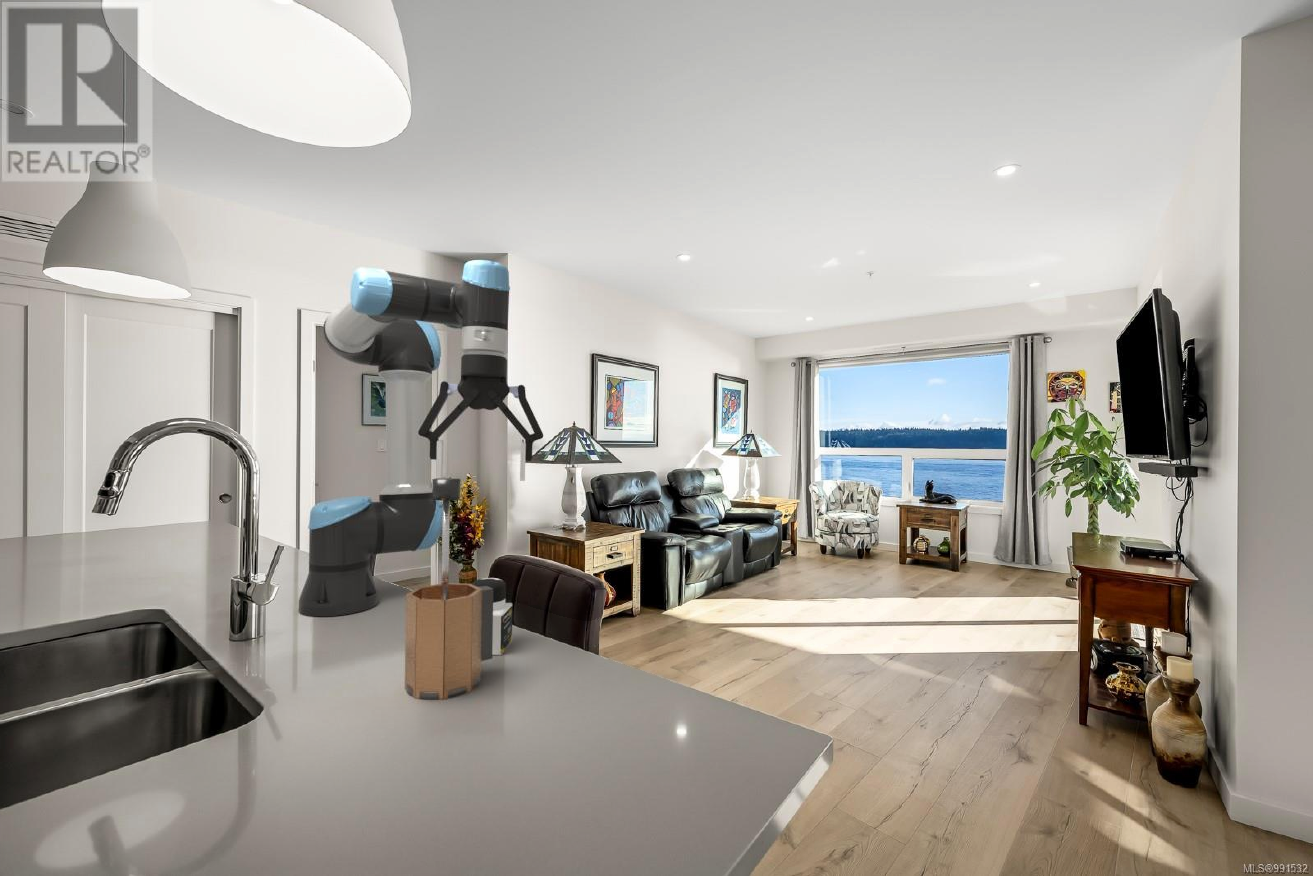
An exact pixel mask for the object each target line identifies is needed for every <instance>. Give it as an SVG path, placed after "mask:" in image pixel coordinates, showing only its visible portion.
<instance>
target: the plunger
mask: <svg viewBox="0 0 1313 876" xmlns="http://www.w3.org/2000/svg"><path fill="white" fill-rule="evenodd" d="M431 483H432V484H431V485H432V486H431V487H432V488H431V489H432V500H440V501H442V509H443V517H442V529H441V539H442V540H441V583H440V584H441V600H447V599H448V585H449V583H450V581H449V579H450V577H449V576H450V575H449V574H450V572H449V571H450V569H449V568H450V567H449V565H450V511H451V509H450V507H451V503H450V502H451V501H455V500H456V501H457V500H460V499H461V484H462V482H461V478H457V477H443V478H436V477H435V478H432V482H431Z"/></svg>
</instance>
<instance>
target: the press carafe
mask: <svg viewBox="0 0 1313 876" xmlns="http://www.w3.org/2000/svg"><path fill="white" fill-rule="evenodd" d="M404 641H405V650H404V656H405V659H404V660H405V661H404V690H405V691H406V693H407V694H408V695H409V696H410V697H413V698H414V699H418V700H426V701H427V700H429V701H430V700H431V701H433V700H441V701H442V700H448V699H451V698H452V699H453V698H456V697H460V696H462V695H464V694H467V693H470V692H472V691H473V690H474V689H475V688H477V686H478V685H479V683H480V681H481V677H482V671H481V670H482V662H484V661H488V660H492V659H493V655H492V644H493V588H490V587H488V586H482V587H476V586H474V585H472V583H455V582H454V583H453V582H451V583H450V582H449V585H448V599H447V600H441V583H438V584H437V583H435V584H431V585H424V586H419V587H416V588H414V589H412V590H411V591H409V592H408V593H406V594H405V640H404Z"/></svg>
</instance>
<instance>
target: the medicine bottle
mask: <svg viewBox="0 0 1313 876" xmlns="http://www.w3.org/2000/svg"><path fill="white" fill-rule="evenodd" d="M471 584H472V585H474V586H476V587H482V586H488V587H490V588H493V644H492V656H501V655H502V654H503V653H504V652H505V650H506V649H507V648H508V647H509V645H510V644H511V643H512V641H513V607H514V605H513V603H512V602H506V594H507V593H506V588H507V587H506V585H507V584H506V581H504V580H502V579H500V578H495V577H487V578H479V579H477V580H475V581H472V582H471Z"/></svg>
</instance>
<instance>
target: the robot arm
mask: <svg viewBox="0 0 1313 876" xmlns="http://www.w3.org/2000/svg"><path fill="white" fill-rule="evenodd" d="M461 279H462V282H461V283H457V282H453V281H452V282H451V281H445V280H440V279H435V278H428V277H423V276H422V277H421V276H416V275H410V274H405V273H399V272H395V271H388V270H385V269H382V268H369V267H358V268H356V270H354V272H353V274H352V278H351V282H350V292H349V293H350V295H349V296H350V301H349V302H348V303H347V304H346V305H345V306H344V307H340V308H337V309H335V310H333V311H332V312H331V313H330V314H329V315H328V316H327V317H326V319H325V321H324V323H323V327H322V335H323V339H324V340H325V342H326V344H327V346H328V347H329V348H330V350H331V351H333V352H334V353H335V354H336V355H337V356H339V357H340V358H343V359H344V360H347V361H348V362H351V363H354V364H359V365H362V366H373V367H377V369H378V371H377V372H378V373H377V374H378V376H379V377H380V378H381V380H383V381H384V383H385V449H386V450H385V455H386V456H385V457H386V460H385V461H386V462H385V466H386V467H385V468H386V474H385V476H386V480H385V481H386V483H385V484H386V486H384V488H383V489H382V490H381V491H380V492H379V493H378V494H379V495H378V497H379V498H378V501H372V498H371V497H370V496H368V495H355V496H353V495H351V496H345V497H339V498H334V499H329V500H324V501H321V502H318V503H316V504H314V506H312V508H311V510H310V512H309V513H310V514H309V523H308V530H309V532H308V533H309V535H308V536H309V538H308V540H309V541H308V542H309V544H308V547H309V548H308V549H309V552H308V575H307V578H306V581H305V583H304V585H303V588H302V590H301V593H300V596H299V599H298V613H300V614H302V615H303V616H310V617H335V616H342V615H343V616H344V615H350V614H356V613H359V612H364V611H367V610H369V609H372V608H374V607H375V606H377V605H378V603H379V592H378V588H377V585H376V582H375V580H374V576H373V574H372V571H371V566H370V563H371V562H370V561H371V556H372V555H381V554H382V555H383V554H392V553H393V554H394V553H400V552H416V551H420V550H425V549H430V548H432V547H433V546H434V545H436V543H437V541H439V538H440V537H441V534H442V517H443V502H442V500H432V488H430V487H429V485H428V484H427V481H428V480H427V439H428V440H429V458H430V460H435V461H436V462H435V464H436V465H435V467H436V468H435V469H436V470H435V476H436V477H435V478H444V476H443V475H444V473H443V470H444V469H443V468H444V439H443V440H441V439H440V440H439V438H440V437H441V436H442V435H443V434H444V433H445V432H446V431H447V430H448V429H449V428H450V427H451V425H452V424H454V422H456V420H457V419H458V418H459V417H461V415H462V414H463V413H464V412H465V411H467V409H468V407H469V408H470V409H472V410H477V411H479V410H482V409H483V410H488V411H495V410H496V409H499V410H500V411H501V413H502V414H503V415H504V416H505V417H506V419H507V420H508V421H509V422H510V424H512V426H513V427H514V429H516V431H518V433H519V434H520V435H521V436H522V437H523V439H524V442H523V441H521V442H520V462H519V463H520V464H519V465H520V466H519V467H520V469H519V470H520V471H519V480H520V481H521V482H524V481H525V480H526V462H531V461H532V459H533V444H534V442H535V441H539V440H542V439H543V438H544V433H543V430H542V428H541V427H540V424H539V422H538V420H537V418H536V417H535V414H534V412H533V409H532V408H531V405H530V404H529V402H528V399H527V395H526V386H524V385H523V384H520V385H515V386H509V385H508V382H507V381H508V380H507V379H508V359H507V357H506V356H505V355H507V354H508V351H509V349H508V348H509V343H508V342H509V308H510V307H509V306H510V305H509V304H510V302H509V301H510V291H511V287H510V273H509V269H508V268H507V266H505V265H504V264H502V263H500V262H498V261H492V260H485V259H475V260H474V259H473V260H469V261H467V262H466V263H464V265H463V271H462V276H461ZM432 323H433V324H439V325H440V324H441V325H444V326H446V327H447V328H450V329H454V330H458V329H459V330H460V329H461V349H460V350H461V351H462V352H463V353H464V354H463V355H462V356H461V358H460V381H459V382H458V384H457V383H452V382H451V383H450V382H447V381H445V380H444V381H441V382H440V388H439V393H438V396H437V397H436V399H435V401H434V403H433V404H432V406H431V408H430V410H429V411H428V413H427V414H426V412H427V411H426V410H427V409H426V408H427V407H426V384H427V382H428V381H429V380H430V379H432V377H433V372H434V371H437V369H438V368H439V367H440V364H441V357H442V349H441V340H440V336H439V334H438V332H437V330H436V328H435V327H434V325H433V324H432ZM455 391H458V393H459V395H460V396H461V398H462V400H461V401H460V402H459V404H458V405H456V406H455V408H454V409H453V410H452V411H451V412H450V413H449V414H448V415H447V416H446V417H445V418H444V420H443V421H442V422H441V423H440V424H439V425H438V426H437V427H436V428H435V429H434V430H433V431H431V428H432V427H433V424H434V423H435V421H436V419H437V418H438V416H439V414H440V412H441V411H442V409H443V407H444V405H445V403H446V402H447V400H448V397H449V396H453V394H454V392H455ZM509 393H510V394H512V395H513V397H514V398H515V399H518V402H519V404H520V405H521V408H522V411H523V412H524V415H525V417H526V418H527V421H528V423H529V425H530V427H531V430H532V431H533V433H531V434H530V433H529V431H528V430H527V429H526V428H525V426H524V425H523V424H522V423H521V422H520V420H519V419H518V418H517V416H515V414H514V413H513V412H512V411H511V409H509V407H508V406H507V404H506V403H505V402H504V400H505V398H507V397H508V395H509Z"/></svg>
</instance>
